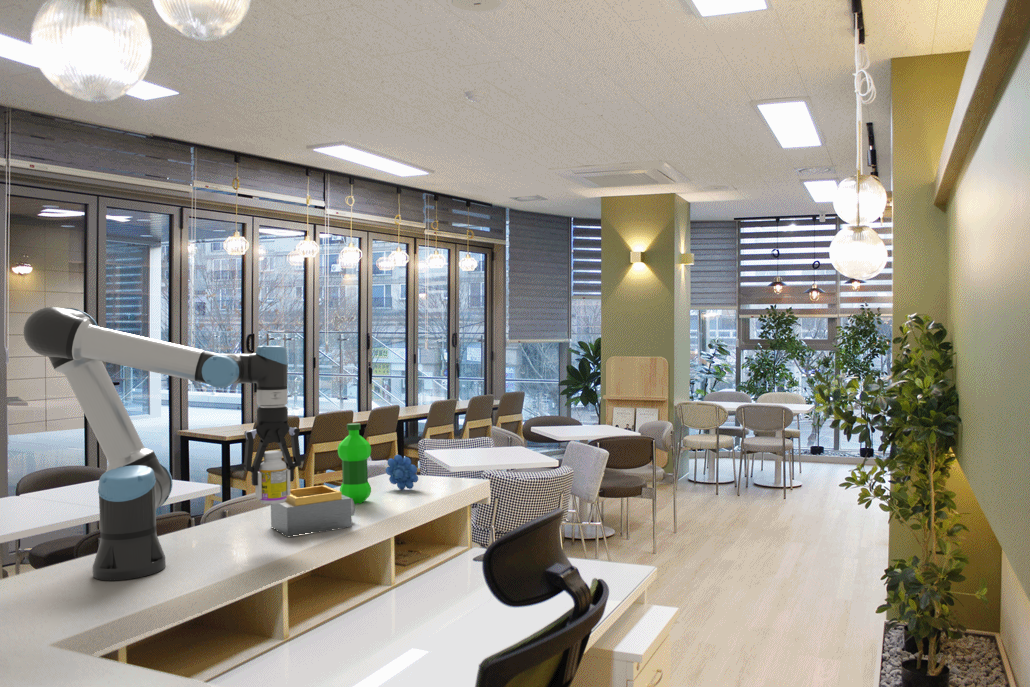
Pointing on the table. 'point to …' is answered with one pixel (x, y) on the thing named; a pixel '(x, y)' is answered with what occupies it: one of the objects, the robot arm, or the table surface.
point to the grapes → (402, 472)
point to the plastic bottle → (355, 465)
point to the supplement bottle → (273, 478)
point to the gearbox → (312, 511)
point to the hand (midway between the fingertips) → (273, 496)
